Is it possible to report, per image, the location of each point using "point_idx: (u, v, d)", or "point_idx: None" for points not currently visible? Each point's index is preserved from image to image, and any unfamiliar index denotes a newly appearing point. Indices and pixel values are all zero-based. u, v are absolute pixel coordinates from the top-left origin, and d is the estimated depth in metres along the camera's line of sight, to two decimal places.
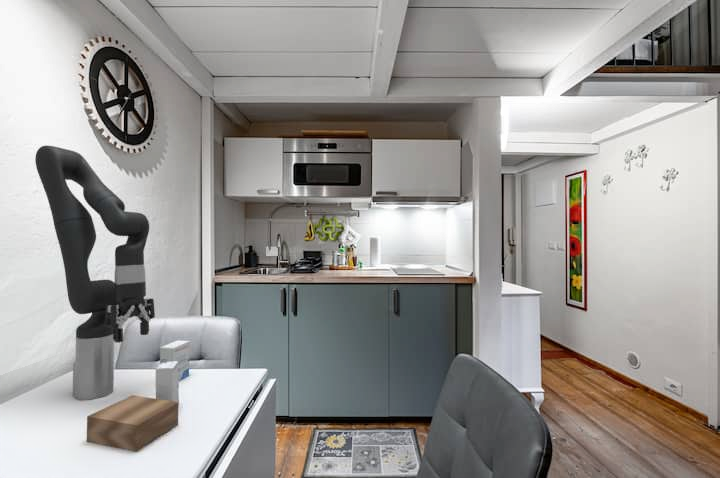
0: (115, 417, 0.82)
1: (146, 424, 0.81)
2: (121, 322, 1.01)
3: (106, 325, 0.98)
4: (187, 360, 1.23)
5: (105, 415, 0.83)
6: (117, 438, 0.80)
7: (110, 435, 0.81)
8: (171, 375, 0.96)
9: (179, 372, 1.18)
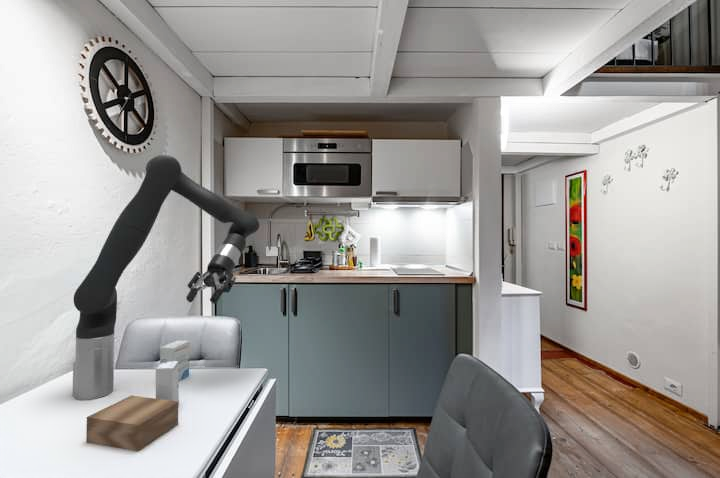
0: (115, 417, 0.82)
1: (147, 423, 0.82)
2: None
3: (226, 286, 1.11)
4: (187, 360, 1.23)
5: (105, 415, 0.83)
6: (118, 438, 0.80)
7: (110, 435, 0.81)
8: (171, 375, 0.96)
9: (179, 372, 1.18)
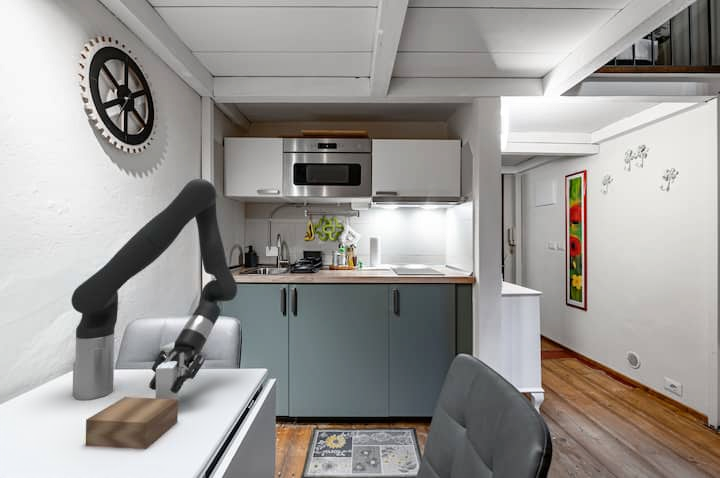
0: (118, 418, 0.82)
1: (153, 421, 0.83)
2: None
3: (190, 373, 0.98)
4: None
5: (105, 417, 0.83)
6: (123, 438, 0.81)
7: (114, 436, 0.81)
8: (171, 375, 0.96)
9: None
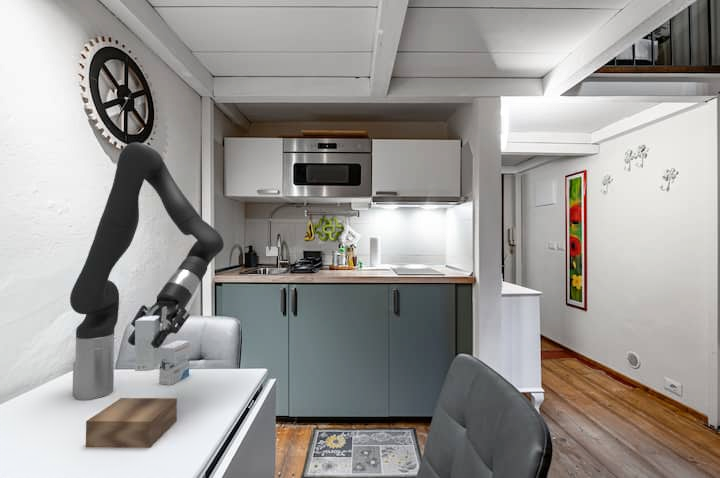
0: (119, 418, 0.82)
1: (156, 420, 0.83)
2: None
3: (173, 327, 0.90)
4: (187, 360, 1.23)
5: (106, 417, 0.82)
6: (126, 438, 0.81)
7: (116, 436, 0.81)
8: (152, 328, 0.88)
9: (179, 372, 1.18)
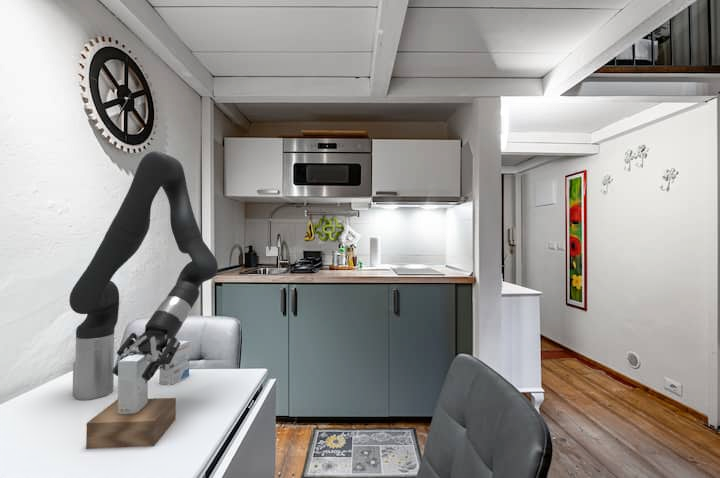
0: (121, 419, 0.82)
1: (159, 419, 0.84)
2: None
3: (165, 357, 0.87)
4: (187, 360, 1.23)
5: (107, 419, 0.82)
6: (129, 438, 0.81)
7: (119, 436, 0.81)
8: (135, 369, 0.85)
9: (179, 372, 1.18)
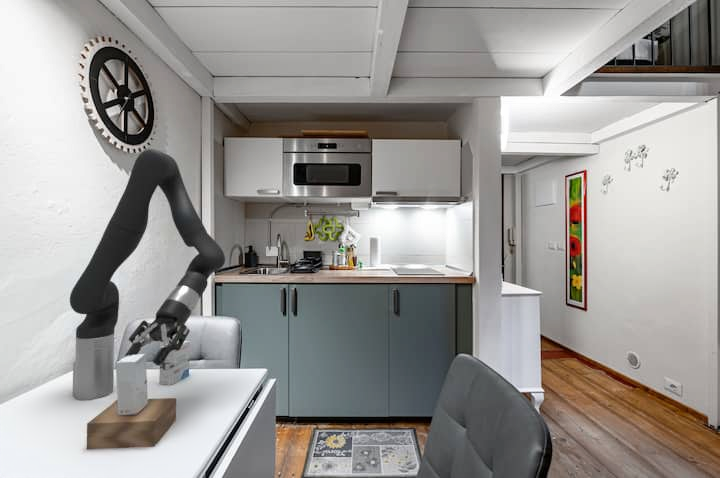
0: (122, 419, 0.82)
1: (159, 419, 0.84)
2: None
3: (175, 344, 0.90)
4: (187, 360, 1.23)
5: (107, 419, 0.82)
6: (129, 438, 0.81)
7: (119, 437, 0.81)
8: (134, 370, 0.84)
9: (179, 372, 1.18)
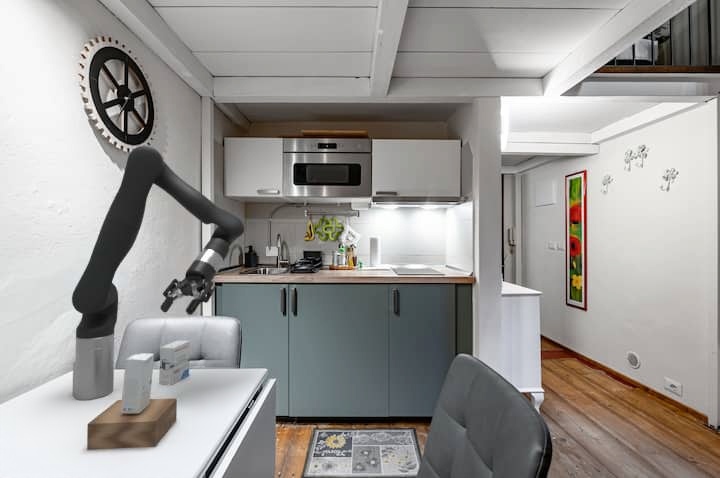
0: (122, 419, 0.82)
1: (160, 419, 0.84)
2: None
3: (205, 296, 1.02)
4: (187, 360, 1.23)
5: (108, 419, 0.82)
6: (130, 438, 0.81)
7: (120, 437, 0.80)
8: (142, 368, 0.85)
9: (179, 372, 1.18)
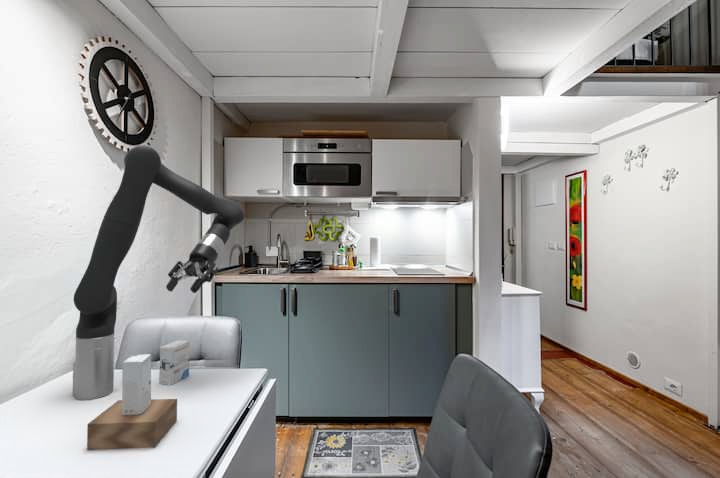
0: (122, 420, 0.81)
1: (160, 420, 0.83)
2: None
3: (208, 276, 1.09)
4: (187, 360, 1.23)
5: (108, 420, 0.81)
6: (130, 439, 0.80)
7: (120, 437, 0.80)
8: (140, 370, 0.84)
9: (179, 372, 1.18)
